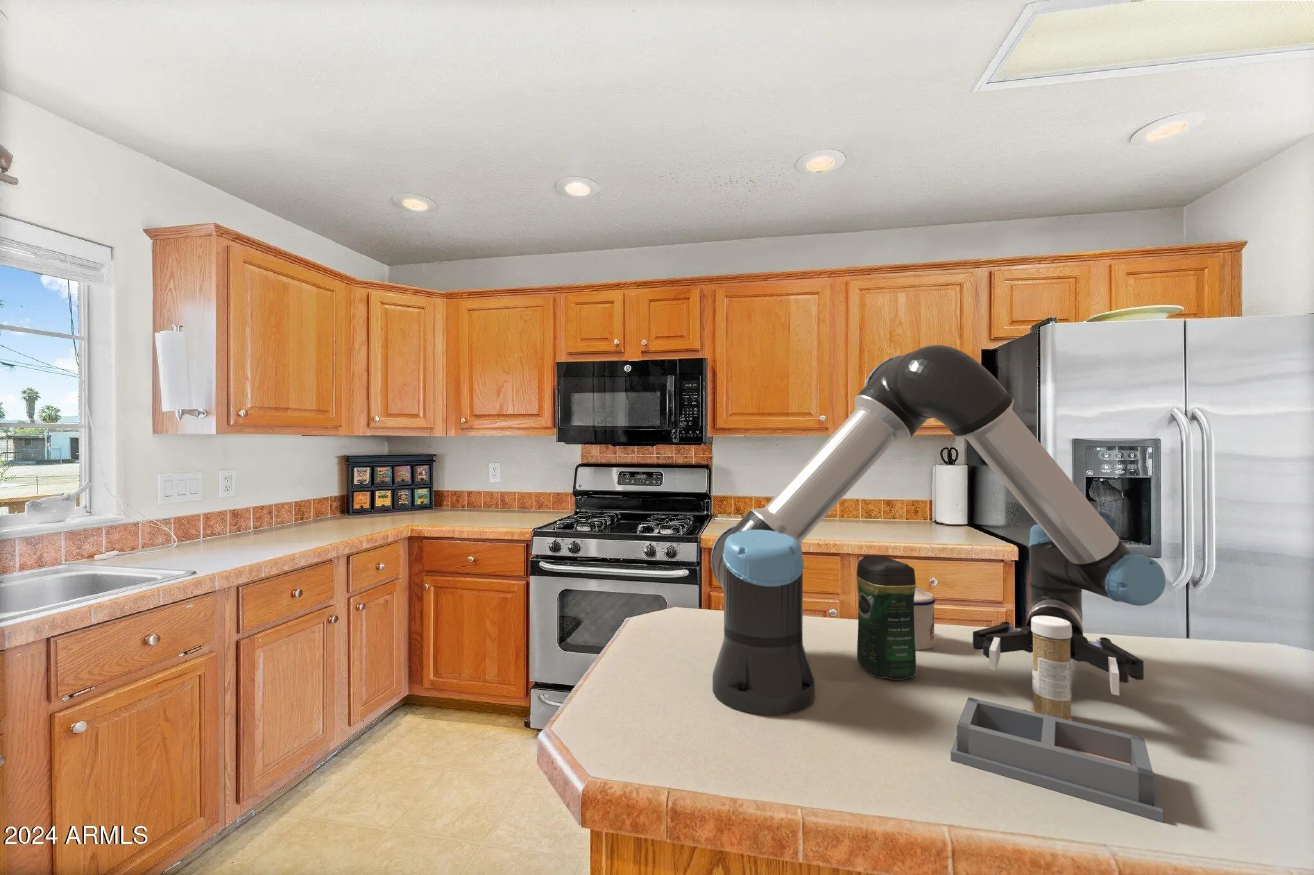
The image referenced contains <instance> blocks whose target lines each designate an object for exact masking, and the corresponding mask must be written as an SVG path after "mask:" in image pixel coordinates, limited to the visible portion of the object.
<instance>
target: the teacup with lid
mask: <svg viewBox="0 0 1314 875" xmlns="http://www.w3.org/2000/svg"><path fill="white" fill-rule="evenodd" d="M935 603H936V598H935V596H934V595H933V594H932V593H931V592H928V591H925V590H923V589H922V588H921V587H919V586H917V585H916V589H915V595H914V630H915V650H916V651H924V650H929V649H932V648H933V647H934V646H935Z"/></svg>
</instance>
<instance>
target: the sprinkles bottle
mask: <svg viewBox="0 0 1314 875" xmlns="http://www.w3.org/2000/svg"><path fill="white" fill-rule="evenodd" d="M1031 631H1032V634H1033V653H1032V662H1031V663H1032V665H1031V666H1032V668H1031V670H1032V671H1031V672H1032V673H1031V674H1032V678H1031V679H1032V682H1031V683H1032V684H1031V686H1032V687H1031V688H1032V698H1033V699H1032V706H1033V707H1032V709H1031V710H1032V711H1031V712H1035V713H1040V714H1044V715H1048V716H1053V717H1057V718H1061V719H1066V720H1070V721H1073V718H1072V714H1071V713H1072V712H1071V711H1072V710H1071V709H1072V708H1071V702H1072V659H1071V658H1070V657H1071V656H1070V653H1071V652H1070V640H1071V637H1072V625H1071V623H1070V622H1069V621H1067V620H1064V619H1061V618H1057V617H1051V616H1034V617H1032V619H1031Z"/></svg>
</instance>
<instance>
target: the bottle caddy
mask: <svg viewBox="0 0 1314 875" xmlns="http://www.w3.org/2000/svg"><path fill="white" fill-rule="evenodd" d="M950 761H952V762H956V763H960V764H963V765H966V766H970V767H972V768H976V769H979V770H980V769H981V770H984V771H987V772H990V773H994V774H996V775H997V774H998V775H1000V776H1004V777H1008V778H1011V779H1014V780H1017V781H1021V782H1024V783H1028V784H1031V785H1034V786H1038V787H1042V788H1045V789H1048V790H1051V791H1054V792H1058V793H1062V794H1065V795H1069V796H1072V797H1075V798H1080V799H1082V800H1085V801H1089V802H1091V803H1092V802H1093V803H1096V804H1099V805H1102V806H1105V807H1110V808H1112V809H1117V810H1120V811H1124V812H1126V813H1130V814H1133V815H1137V816H1141V817H1143V818H1147V819H1151V820H1154V821H1158V822H1160V823H1164V810H1163V806H1162V802H1161V799H1160V795H1159V791H1158V787H1157V783H1156V780H1155V776H1154V775H1155V774H1154V771H1153V767H1152V764H1151V759H1150V756H1149V752H1148V748H1147V745H1146V740H1145V737H1143V736H1138V735H1135V734H1129V733H1126V732H1120V731H1117V730H1113V729H1108V728H1103V727H1100V726H1095V725H1091V724H1086V723H1083V722H1079V721H1074V720H1072V721H1070V720H1066V719H1061V718H1057V717H1053V716H1048V715H1044V714H1040V713H1035V712H1032V711H1031V710H1027V709H1022V708H1019V707H1018V708H1017V707H1013V706H1008V705H1006V704H1005V705H1004V704H1001V703H996V702H991V701H987V700H984V699H978V698H974V697H971V696H969V697H968V698H967V700H966V702H965V705H964V707H963V710H962V712H961V714H960V717H959V719H958V721H957V725H956V736H955V740H954V742H953V744H952V747H951V749H950Z"/></svg>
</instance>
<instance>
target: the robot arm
mask: <svg viewBox="0 0 1314 875" xmlns="http://www.w3.org/2000/svg"><path fill="white" fill-rule="evenodd" d="M853 400H854V411H853V412H851V414H850V415H849V416H848V417H847V419H846V420H844V422H842V424H841V425H840V426H839V427H838V428H837V429H836V430H835V431H834V432H833V433H832V434H831V436H830V437H829V438H828V439H827V440H826V441H825V442H824V443H823V444H822V445H821V447H819V449H817V450H816V452H815V453H814V454H813V455H812V456H811V457H810V458H809V459H808V460H807V462H806V463H805V464H804V465H802V467H801V468H800V469H799V470H798V471H797V472H796V473H795V474H794V475H793V477H791V479H790V480H789V481H788V482H787V483H786V484H785V485H784V486H783V487H782V488H781V490H780V491H778V493H776V495H774V497H773V498H772V499H771V500H770V501H769V503H767V505H766V506H765V507H762V508H751V509H750V510H749V511H748V512H747V514H745V515H744V516H743V517H742V518H741V520H739V522H738V523H737V524H736V525H733V526H731V527H729V528H727V529H726V530H724V531H723V532H722V533H721V534H720V535H719V536H718V537H717V538H716V540H715V542H714V543H713V546H712V550H711V558H710V562H711V570H712V574H713V576H714V578H715V579H716V582H718V585H720V587H721V589H722V590H723V624H724V625H723V641H722V643H721V646H720V650H719V653H718V656H717V659H716V662H715V665H714V669H713V672H712V693H713V695H714V696H715V697H716V698H717V699H718V700H719V701H720V702H721V703H723V704H724V705H726V706H729V707H731V708H734V709H736V710H739V711H743V712H746V713H751V714H752V713H753V714H759V715H772V716H773V715H775V716H777V715H788V714H793V713H797V712H801V711H803V710H806V709H807V708H809V707H810V706H811V705H812V704H813V703H814V702H815V701H816V700H815V699H816V681H815V677H814V675H813V671H812V668H811V665H810V662H809V658H808V655H807V653H806V650H805V647H804V640H803V639H804V638H803V635H804V634H803V628H804V626H803V620H804V618H803V614H804V613H803V612H804V610H803V606H804V605H803V597H804V596H803V593H804V592H803V590H804V588H803V587H804V586H803V585H804V584H803V582H804V581H803V578H804V577H803V576H804V573H803V571H804V568H805V564H804V562H805V561H804V558H803V549H802V547H803V546H802V544H803V541H804V540H805V539H806V538H807V537H808V536H809V535H810V533H812V531H814V529H816V527H817V526H818V525H819V524H820V523H821V522H822V520H823V519H825V517H826V516H827V515H828V514H829V513H830V512H831V511H832V510H833V509H834V508H835V507H836V506H837V505H838V503H840V501H841V500H842V499H843V498H844V497H845V496H846V495H847V494H848V492H850V490H851V489H853V487H854V486H855V485H856V484H857V483H858V482H859V481H860V480H861V479H862V477H864V475H865V474H866V473H867V472H868V471H869V470H870V469H871V467H873V465H875V463H876V462H877V461H878V460H879V459H880V458H881V457H882V456H883V455H884V454H885V453H886V451H888V449H889V448H890V447H891V446H892V445H893V443H896V442H907V441H909V440H910V439H911V438H913V436H914V435H915V434H916V433H917V431H919V429H920V428H921V427H922V426H923V425H924V424H925V423H926V422H927V421H928V420H929V419H935V420H936V421H938V422H940V423H942V424H943V425H944V426H945V427H946V428H947V429H948V430H949V431H950V432H951V433H952V434H953V436H954V437H955V438H958V439H959V438H961V439H966V440H967V441H968V442H969V444H970V445H971V446H972V447H973V448H974V450H975V451H976V453H978V454H979V456H980V457H981V458H982V459H983V460H984V462H985V463H986V464H987V465H988V466H989V468H990V469H991V470H992V471H993V472H994V473H995V475H996V476H997V477H998V478H999V480H1000V481H1002V483H1003V485H1004V486H1005V487H1006V488H1007V489H1008V490H1009V492H1011V494H1012V495H1013V496H1014V497H1015V499H1017V501H1018V502H1019V503H1020V504H1021V506H1022V507H1023V508H1024V509H1025V510H1026V511H1027V513H1029V516H1030V517H1032V518H1033V520H1034V521H1035V522H1036V523H1037V524H1034V525H1032V527H1031V528H1030V530H1029V544H1028V547H1027V548H1028V552H1029V553H1028V555H1029V613H1028V615H1027V618H1026V623H1025V626H1022V627H1021V628H1015V627H1014V626H1013V625H1012V624H1011V622H1009V621H1001V623H1000V624H996V625H993V626H989V627H985V628H981V629H977V630H973V631H972V648H973V649H974V650H976V651H981V650H982V655H983V656H985V658H987V659H989V660H988V662H989V664H988V665H989V666H988V668H989V670H991V671H994V672H995V671H997V668H998V665H999V662H1000V659H1001V654H1002V653H1010V652H1020V651H1024V652H1026V653H1029V654H1033V634H1032V631H1031V619H1032V617H1034V616H1051V617H1057V618H1061V619H1064V620H1067V621H1069V622H1070V623H1071V625H1072V637H1071V640H1070V652H1071V653H1070V656H1071V657H1070V658H1071V660H1073V661H1075V662H1079V663H1080V662H1085V663H1086V664H1089V665H1090V666H1093V667H1095V668H1097V669H1099V670H1101V671H1103V672H1105V673H1108V682H1109V687H1110V693H1111V695H1113V696H1120V683H1124V684H1128V683H1129V682H1130V681H1129V680H1130V678H1132V679H1135V680H1136V681H1144V679H1145V676H1144V675H1145V674H1144V673H1145V672H1144V669H1145V668H1144V665H1145V664H1144V660H1143V659H1141V658H1140V657H1138V656H1136V655H1134V654H1132V653H1131V652H1129V651H1127V650H1126V649H1123V647H1120V646H1118V645H1116V644H1114V643H1113V642H1112V641H1111V639H1110V638H1108V637H1106V636H1105V637H1103V636H1101V637H1099V638H1097V639H1095V640H1096V641H1091V640H1089V639H1088V638H1087V637H1086V636H1084V626H1083V599H1082V598H1083V597H1082V596H1083V590H1084V591H1086V592H1089V593H1093V594H1096V595H1099V596H1101V597H1104V598H1107V599H1110V600H1112V601H1114V602H1117V603H1124V604H1128V605H1132V606H1137V607H1138V606H1139V607H1140V606H1146V605H1150V604H1152V603H1154V602H1156V601H1157V600H1158V599H1159V598H1160V597H1161V595H1163V593H1164V591H1165V588H1166V581H1167V580H1166V574H1165V570H1164V569H1163V567H1162V566H1161V565H1160V563H1159V562H1158V561H1156V560H1155V559H1154V558H1151V557H1149V556H1145V555H1144V554H1142V553H1140V552H1132V550H1130V549H1129V548H1128V546H1127V544H1125V543H1124V542H1123V540H1121V538H1120V537H1119V536H1118V535H1117V534H1116V532H1114V530H1113V529H1112V528H1111V527H1110V525H1109V524H1108V523H1107V522H1106V520H1105V519H1104V518H1103V517H1102V516H1101V514H1100V513H1099V512H1098V511H1097V510H1096V509H1095V507H1094V506H1093V505H1092V504H1091V503H1090V501H1089V500H1088V499H1087V497H1086V496H1085V495H1084V494H1083V492H1082V491H1080V489H1079V488H1078V487H1077V486H1076V484H1075V483H1074V482H1073V481H1072V479H1071V478H1070V477H1069V476H1068V475H1067V474H1066V473H1065V471H1064V470H1063V468H1062V467H1061V466H1060V465H1059V464H1058V463H1057V462H1056V460H1055V459H1054V458H1053V457H1052V455H1050V453H1049V452H1048V451H1047V449H1045V447H1044V446H1043V445H1042V444H1041V443H1040V441H1039V440H1038V439H1037V438H1036V436H1035V435H1034V433H1032V431H1031V430H1030V429H1029V428H1028V427H1027V426H1026V425H1025V423H1024V422H1023V421H1022V419H1021V418H1020V417H1019V416H1018V415H1017V414H1016V412H1015V411H1014V410H1013V407H1014V402H1015V400H1014V398H1013V397H1012V395H1011V394H1010V392H1008V391H1007V390H1006V389H1005V388H1004V386H1003V384H1001V383H1000V382H999V381H998V379H997V378H996V377H995V376H994V375H993V374H992V373H991V372H990V371H989V370H988V369H987V368H985V366H984V365H982V364H981V363H980V362H978V361H977V360H976V359H975V358H973V357H972V356H970V355H969V354H967V353H966V352H964V351H962V350H959V349H958V348H955V347H952V346H948V345H941V344H934V345H933V344H931V345H927V346H923V347H921V348H919V349H918V348H917V349H916V350H913V351H911V352H908V353H905V354H903V355H897V356H894V357H890V358H888V359H886V360H884V361H882V362H881V363H880V364H879V365H877V366H876V367H875V368H874V369H873V370H872V371H871V372H870V374H869V375H868V377H867V379H866V381H865V384H864V387H863V389H862V390H860V392H859V393H858V394H857V395H856V396H855V398H854V399H853ZM1129 677H1130V678H1129Z"/></svg>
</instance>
